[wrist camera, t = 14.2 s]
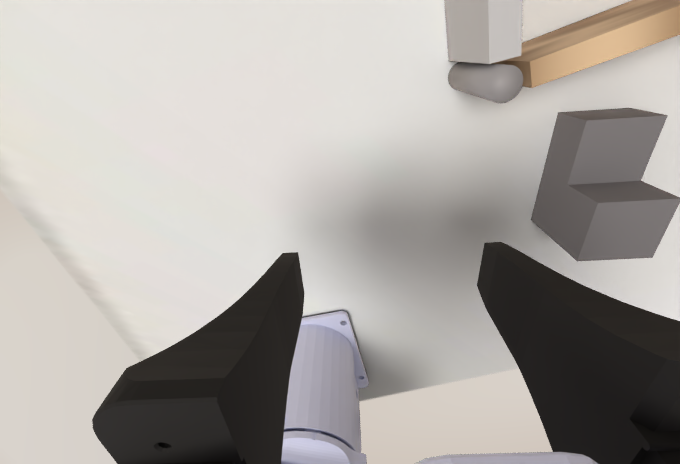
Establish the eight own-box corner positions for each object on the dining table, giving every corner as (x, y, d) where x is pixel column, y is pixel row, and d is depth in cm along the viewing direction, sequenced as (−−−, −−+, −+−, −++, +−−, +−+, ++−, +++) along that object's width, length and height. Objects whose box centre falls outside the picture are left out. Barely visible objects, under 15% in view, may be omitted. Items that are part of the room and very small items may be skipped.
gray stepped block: (590, 216, 22) (652, 257, 17) (530, 219, 22) (577, 261, 18) (629, 107, 18) (717, 125, 14) (557, 112, 19) (623, 131, 14)
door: (485, 95, 18) (533, 110, 13) (478, 40, 16) (528, 36, 12) (724, 8, 16) (874, -10, 11) (736, -63, 14) (911, -114, 10)
